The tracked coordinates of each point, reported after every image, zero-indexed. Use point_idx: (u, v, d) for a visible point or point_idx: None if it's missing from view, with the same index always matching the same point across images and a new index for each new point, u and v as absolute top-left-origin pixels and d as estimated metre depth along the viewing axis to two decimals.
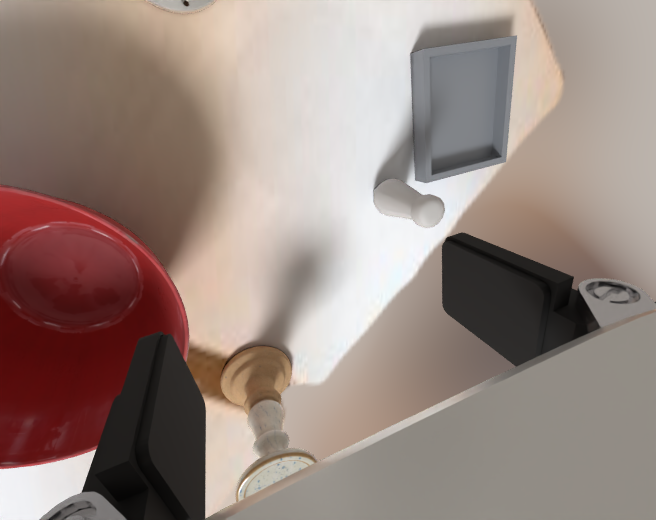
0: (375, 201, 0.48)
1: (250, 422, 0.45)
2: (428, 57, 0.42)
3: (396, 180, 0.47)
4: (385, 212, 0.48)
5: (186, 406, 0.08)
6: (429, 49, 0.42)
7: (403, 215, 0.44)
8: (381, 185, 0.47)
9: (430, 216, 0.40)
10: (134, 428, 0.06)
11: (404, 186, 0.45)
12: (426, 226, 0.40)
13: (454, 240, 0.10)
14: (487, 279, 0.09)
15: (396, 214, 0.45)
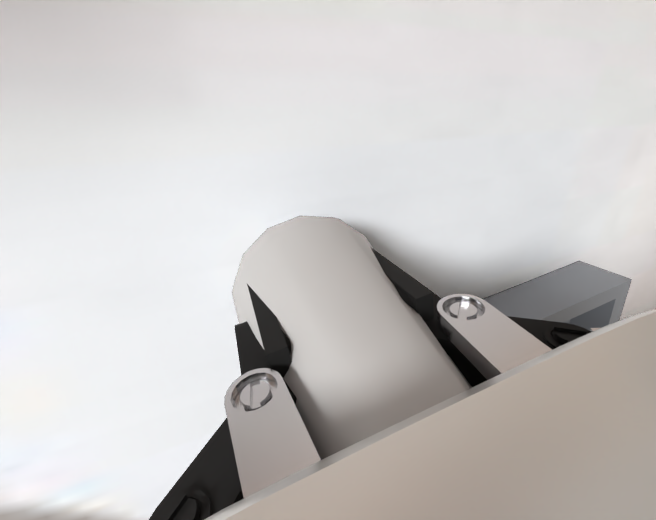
0: (297, 221, 0.11)
1: None
2: (616, 296, 0.19)
3: None
4: (262, 270, 0.09)
5: None
6: (625, 294, 0.19)
7: (325, 374, 0.06)
8: (362, 235, 0.12)
9: None
10: (279, 332, 0.07)
11: None
12: None
13: None
14: None
15: (294, 326, 0.07)
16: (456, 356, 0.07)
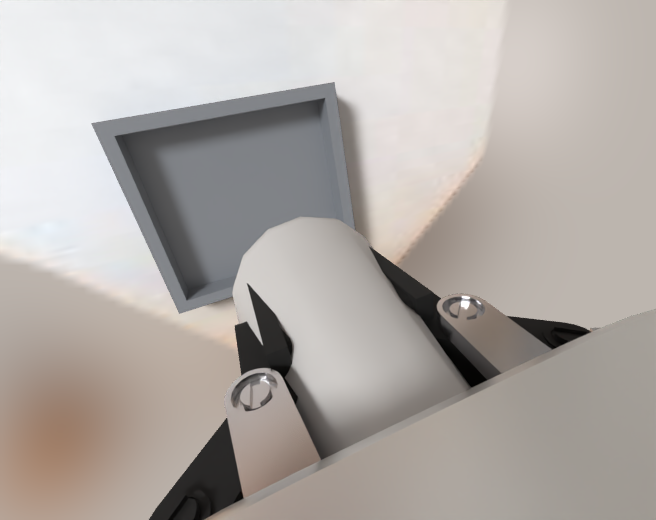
0: (298, 222, 0.11)
1: None
2: (324, 95, 0.26)
3: None
4: (262, 271, 0.10)
5: None
6: (334, 95, 0.26)
7: (325, 375, 0.06)
8: (362, 236, 0.12)
9: None
10: (279, 332, 0.07)
11: None
12: None
13: None
14: None
15: (295, 327, 0.07)
16: (456, 356, 0.07)
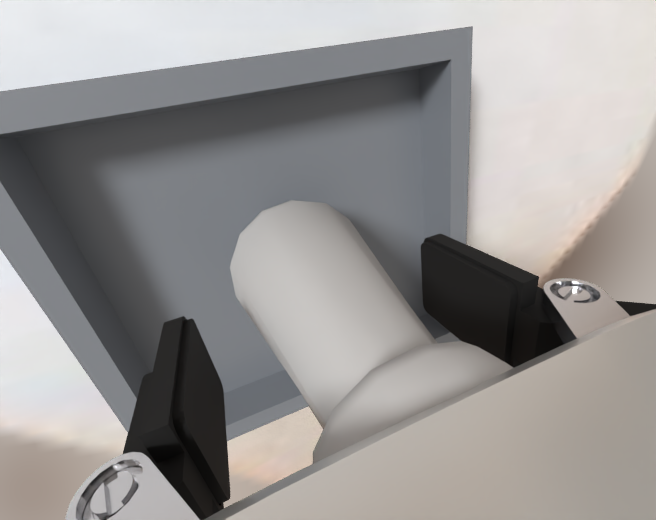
0: (288, 203, 0.12)
1: None
2: (450, 53, 0.12)
3: None
4: (256, 243, 0.11)
5: (209, 386, 0.08)
6: (468, 56, 0.13)
7: (305, 315, 0.07)
8: (347, 219, 0.13)
9: None
10: (169, 398, 0.06)
11: None
12: None
13: (431, 241, 0.11)
14: (461, 279, 0.09)
15: (282, 283, 0.09)
16: None
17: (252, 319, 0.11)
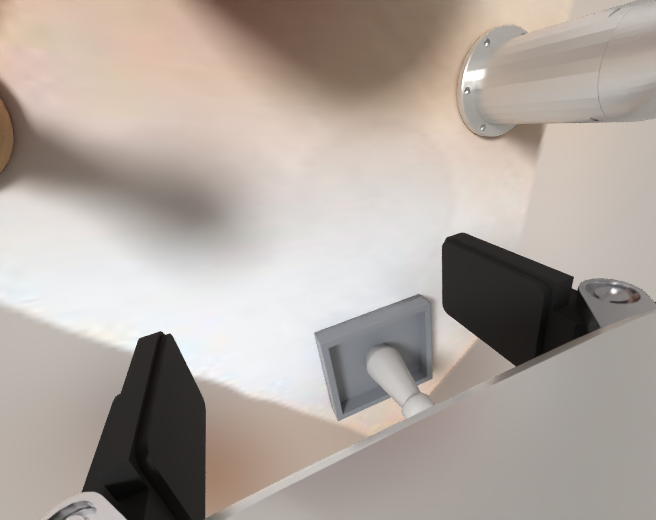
0: (383, 349, 0.47)
1: None
2: (424, 309, 0.48)
3: None
4: (378, 363, 0.46)
5: (186, 406, 0.08)
6: (429, 308, 0.48)
7: (396, 385, 0.43)
8: (397, 351, 0.48)
9: None
10: (134, 428, 0.06)
11: None
12: None
13: (454, 240, 0.10)
14: (487, 279, 0.09)
15: (389, 377, 0.44)
16: None
17: (377, 381, 0.46)
